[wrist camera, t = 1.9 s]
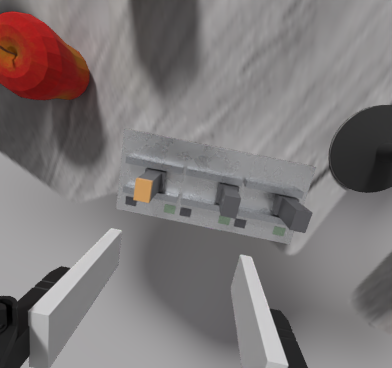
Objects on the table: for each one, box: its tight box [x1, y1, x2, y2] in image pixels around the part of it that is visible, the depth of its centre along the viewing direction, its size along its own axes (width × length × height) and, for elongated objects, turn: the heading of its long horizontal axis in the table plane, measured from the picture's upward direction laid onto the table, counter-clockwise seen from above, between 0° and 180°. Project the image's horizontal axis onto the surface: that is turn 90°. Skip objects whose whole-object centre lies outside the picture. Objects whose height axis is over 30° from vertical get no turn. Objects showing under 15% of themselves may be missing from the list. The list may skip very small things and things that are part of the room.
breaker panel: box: [116, 129, 316, 244], centre depth 33 cm, size 29×13×4 cm, turn 79°
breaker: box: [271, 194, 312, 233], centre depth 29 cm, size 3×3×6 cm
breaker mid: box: [215, 182, 241, 219], centre depth 29 cm, size 3×3×6 cm
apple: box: [0, 11, 89, 100], centre depth 26 cm, size 9×8×12 cm
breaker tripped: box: [133, 168, 167, 203], centre depth 29 cm, size 3×3×7 cm
